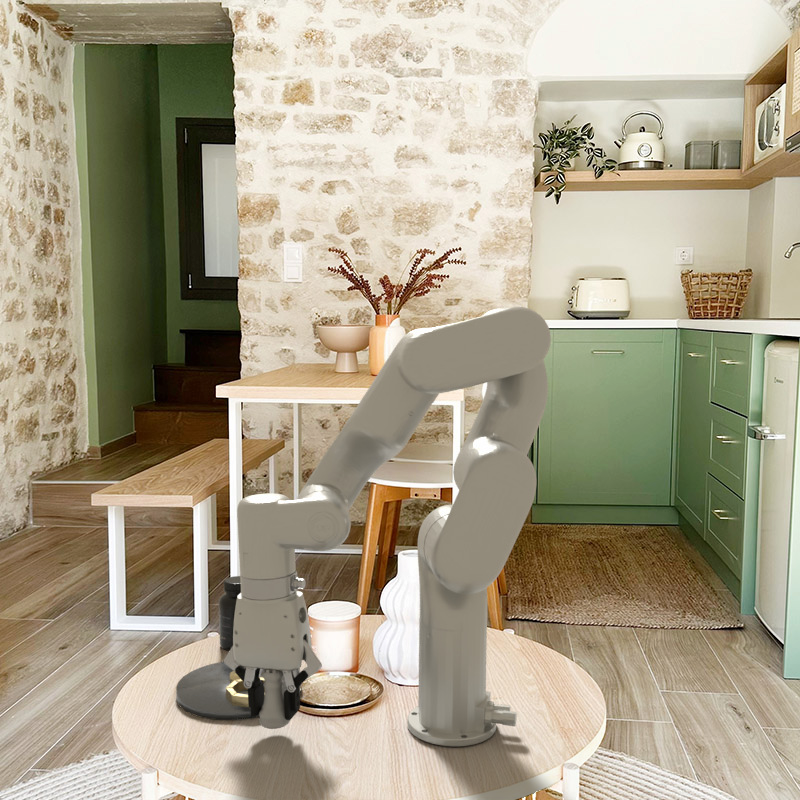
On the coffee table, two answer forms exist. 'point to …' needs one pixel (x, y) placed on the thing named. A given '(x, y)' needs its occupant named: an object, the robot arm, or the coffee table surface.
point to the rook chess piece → (273, 700)
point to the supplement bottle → (228, 611)
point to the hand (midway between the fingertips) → (274, 712)
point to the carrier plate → (216, 693)
